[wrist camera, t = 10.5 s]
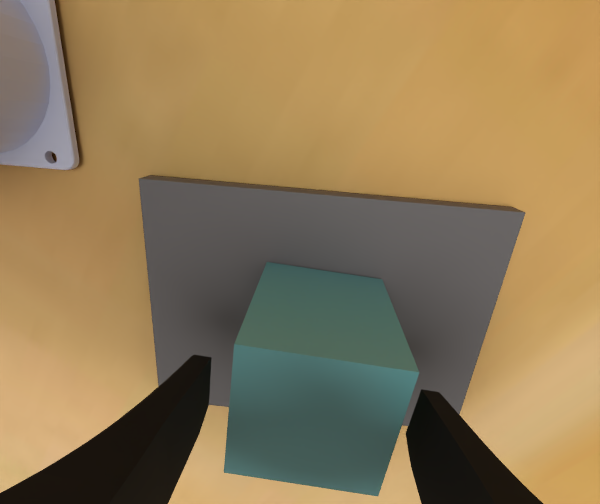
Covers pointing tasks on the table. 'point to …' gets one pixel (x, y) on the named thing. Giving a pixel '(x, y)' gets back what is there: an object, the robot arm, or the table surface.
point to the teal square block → (318, 381)
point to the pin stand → (322, 268)
